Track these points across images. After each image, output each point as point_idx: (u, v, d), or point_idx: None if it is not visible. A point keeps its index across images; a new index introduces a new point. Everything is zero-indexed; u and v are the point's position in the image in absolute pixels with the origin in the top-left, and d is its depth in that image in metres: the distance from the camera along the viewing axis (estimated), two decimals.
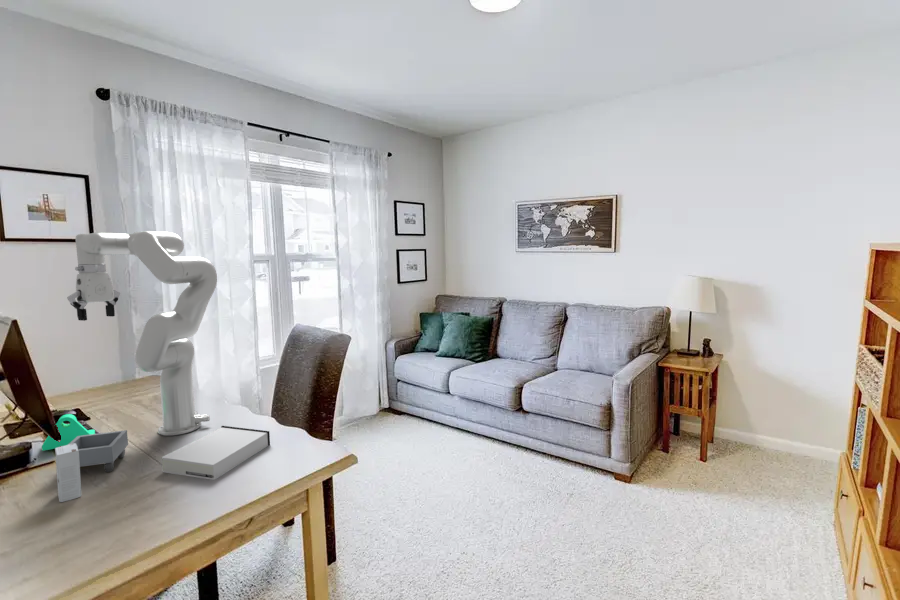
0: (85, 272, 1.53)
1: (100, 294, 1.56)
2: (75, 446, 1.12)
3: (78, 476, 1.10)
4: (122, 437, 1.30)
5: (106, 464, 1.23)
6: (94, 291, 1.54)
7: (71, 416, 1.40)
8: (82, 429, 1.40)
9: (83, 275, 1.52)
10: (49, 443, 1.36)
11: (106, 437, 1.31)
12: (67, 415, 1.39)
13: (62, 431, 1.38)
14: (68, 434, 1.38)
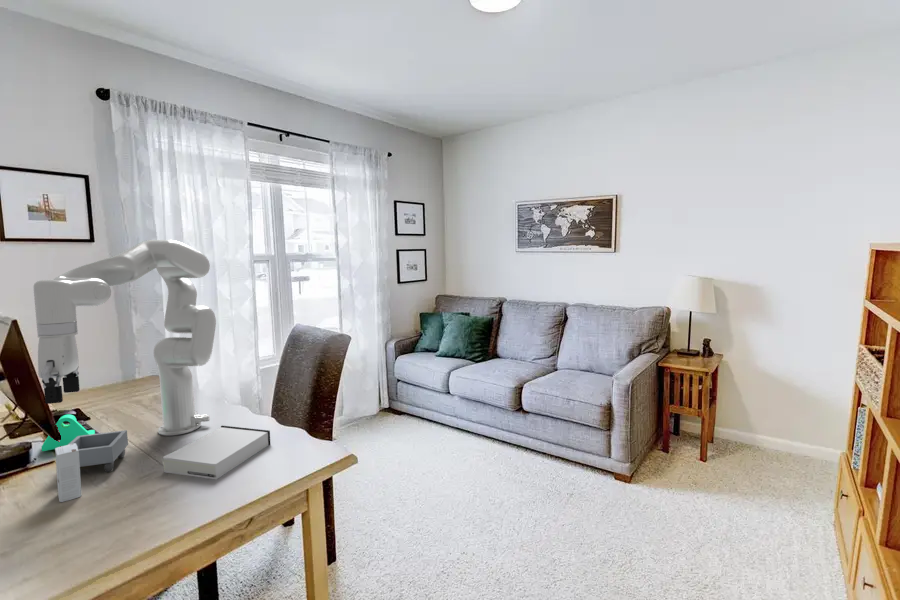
0: None
1: None
2: (75, 446, 1.12)
3: (78, 476, 1.10)
4: (122, 437, 1.30)
5: (106, 464, 1.23)
6: None
7: (71, 416, 1.39)
8: (82, 429, 1.40)
9: None
10: (49, 444, 1.36)
11: (106, 437, 1.31)
12: (67, 415, 1.39)
13: (62, 431, 1.37)
14: (68, 434, 1.38)
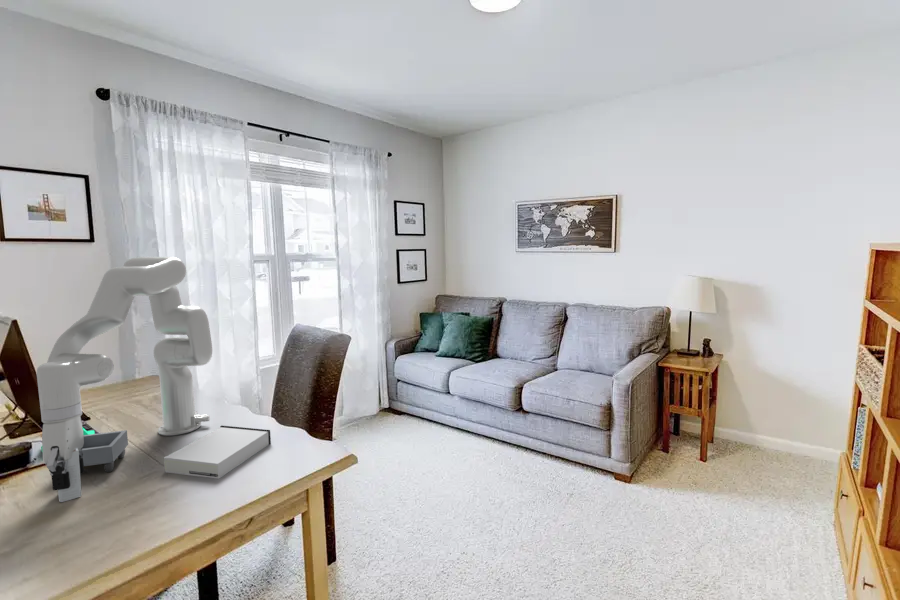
0: None
1: None
2: None
3: (78, 476, 1.10)
4: (122, 437, 1.30)
5: (106, 464, 1.23)
6: None
7: None
8: None
9: None
10: None
11: (106, 437, 1.31)
12: None
13: None
14: None
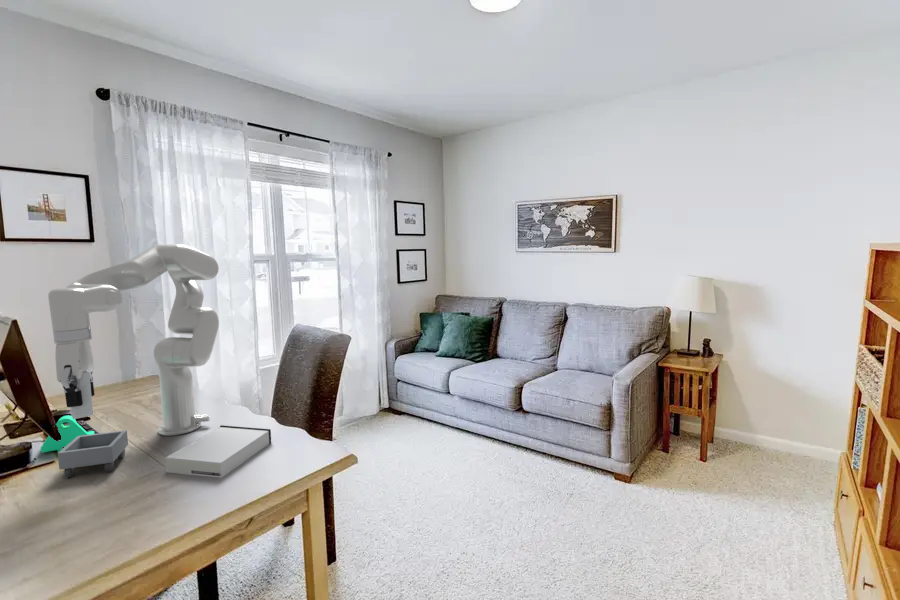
0: None
1: None
2: None
3: (89, 396, 1.18)
4: (122, 437, 1.30)
5: (106, 464, 1.23)
6: None
7: (70, 417, 1.38)
8: (81, 431, 1.39)
9: None
10: (48, 445, 1.35)
11: (106, 437, 1.31)
12: (66, 416, 1.38)
13: (61, 433, 1.36)
14: (67, 436, 1.37)
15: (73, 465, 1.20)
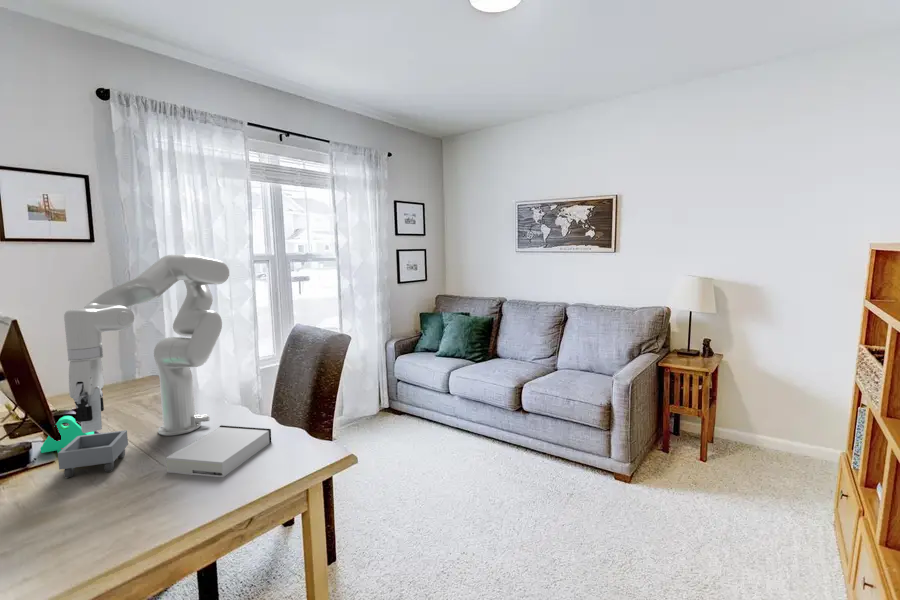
0: None
1: None
2: None
3: (99, 411, 1.24)
4: (122, 437, 1.30)
5: (106, 464, 1.23)
6: None
7: (70, 418, 1.38)
8: (81, 431, 1.39)
9: None
10: (48, 446, 1.35)
11: (106, 437, 1.31)
12: (66, 417, 1.38)
13: (61, 433, 1.36)
14: (67, 436, 1.37)
15: (73, 465, 1.20)
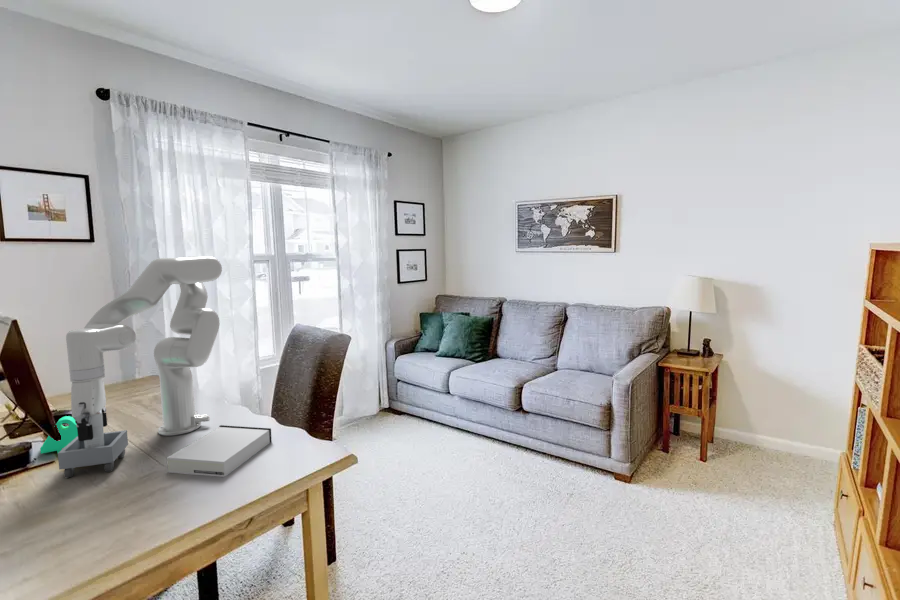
0: None
1: None
2: None
3: (102, 436, 1.25)
4: (122, 437, 1.30)
5: (106, 464, 1.23)
6: None
7: (70, 418, 1.38)
8: None
9: None
10: (48, 446, 1.34)
11: (106, 437, 1.31)
12: (66, 417, 1.37)
13: (61, 433, 1.36)
14: (67, 436, 1.37)
15: (73, 465, 1.20)
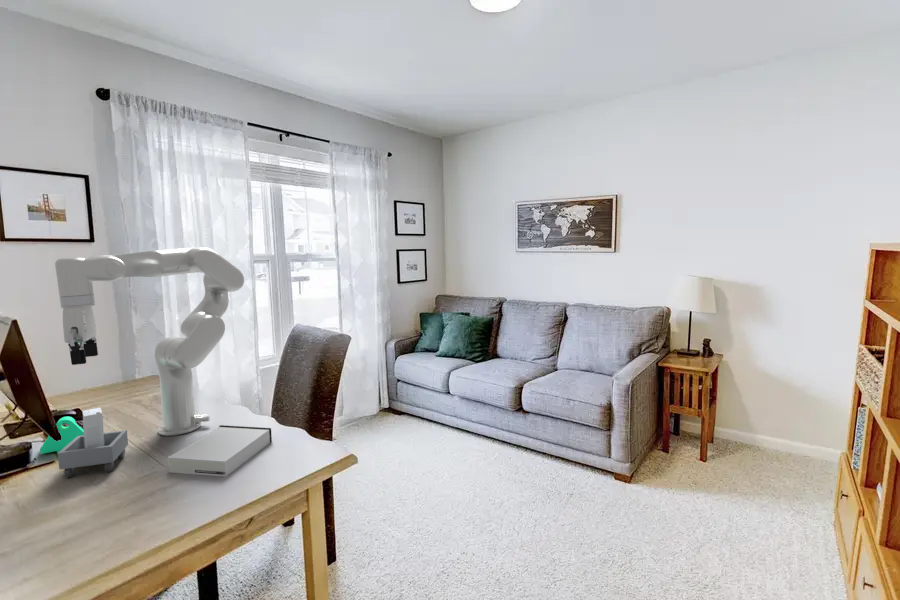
0: None
1: None
2: (99, 410, 1.26)
3: (102, 436, 1.25)
4: (122, 437, 1.30)
5: (106, 464, 1.23)
6: None
7: (70, 418, 1.37)
8: (81, 432, 1.38)
9: None
10: (47, 446, 1.34)
11: (106, 437, 1.31)
12: (66, 417, 1.37)
13: (61, 434, 1.35)
14: (67, 437, 1.36)
15: (73, 465, 1.20)
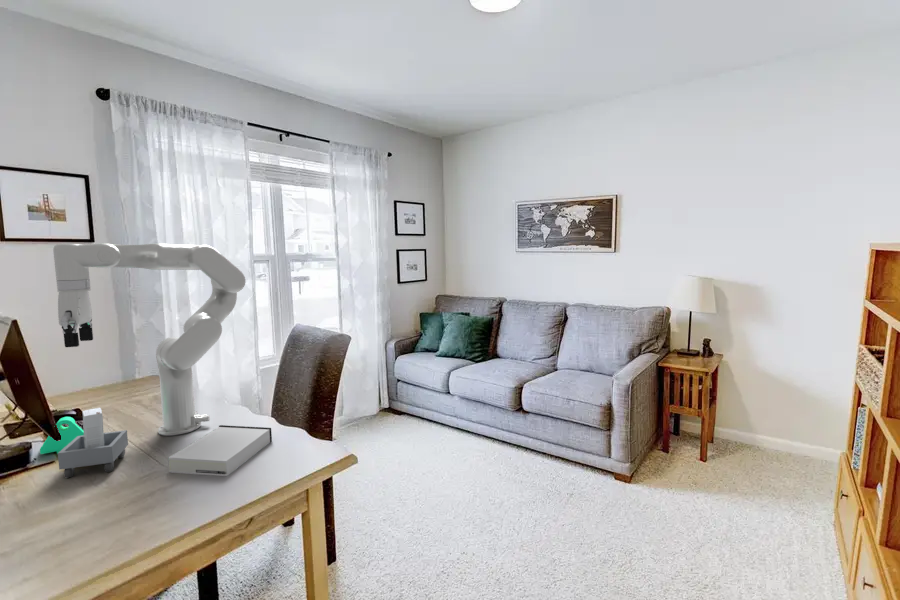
0: None
1: None
2: (99, 410, 1.26)
3: (102, 436, 1.25)
4: (122, 437, 1.30)
5: (106, 464, 1.23)
6: None
7: (69, 419, 1.37)
8: (81, 432, 1.38)
9: None
10: (47, 447, 1.34)
11: (106, 437, 1.31)
12: (66, 418, 1.37)
13: (60, 434, 1.35)
14: (67, 437, 1.36)
15: (73, 465, 1.20)
